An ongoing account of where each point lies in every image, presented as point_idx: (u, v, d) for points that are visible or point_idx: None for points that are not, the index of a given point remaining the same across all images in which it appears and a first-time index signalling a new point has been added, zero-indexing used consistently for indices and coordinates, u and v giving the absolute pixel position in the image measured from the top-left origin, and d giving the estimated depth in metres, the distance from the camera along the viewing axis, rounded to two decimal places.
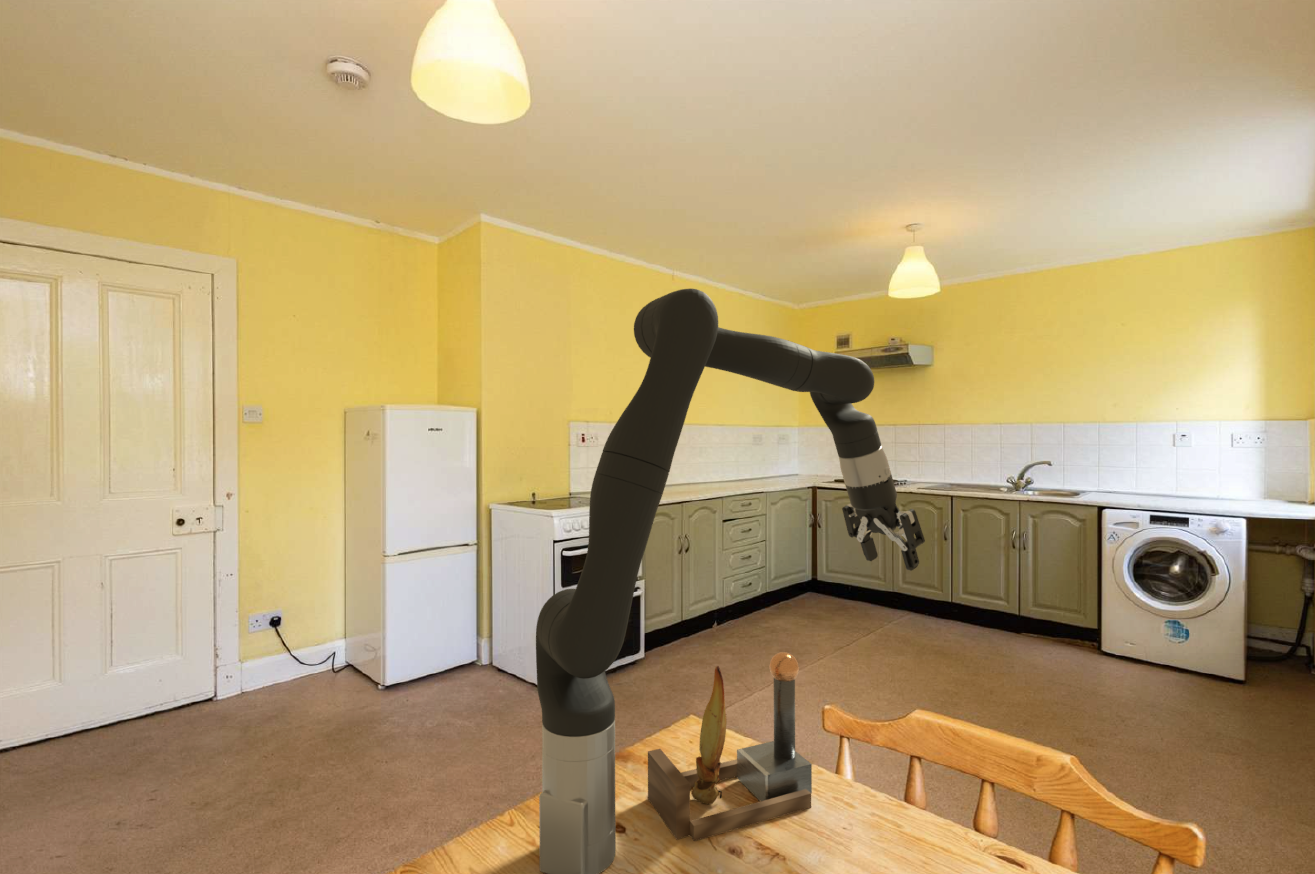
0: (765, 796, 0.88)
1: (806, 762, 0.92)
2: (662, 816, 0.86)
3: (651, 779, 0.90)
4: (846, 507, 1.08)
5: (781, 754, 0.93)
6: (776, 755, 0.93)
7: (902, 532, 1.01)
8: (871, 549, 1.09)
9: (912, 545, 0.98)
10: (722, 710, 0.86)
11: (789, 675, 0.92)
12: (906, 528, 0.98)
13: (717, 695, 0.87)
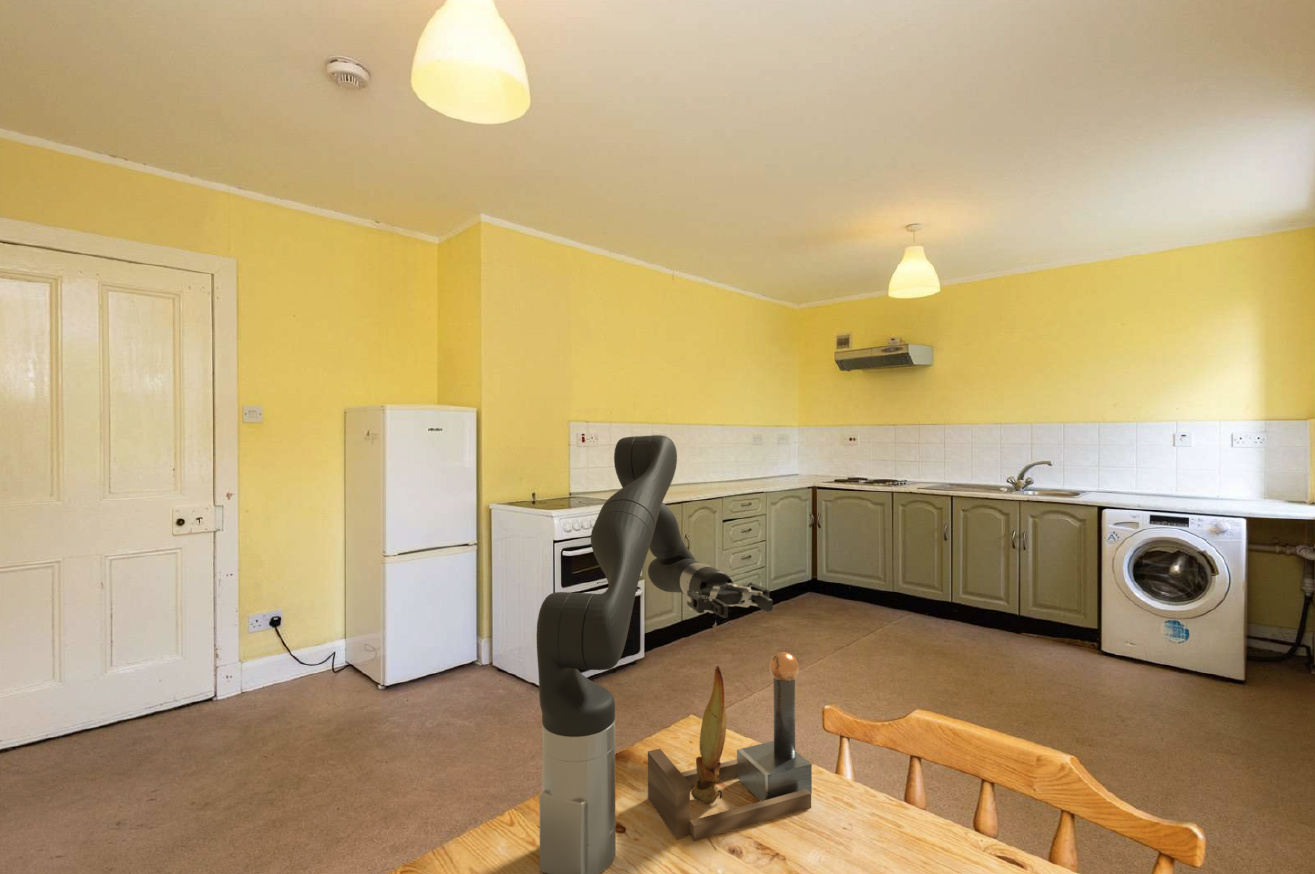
0: (765, 796, 0.88)
1: (806, 762, 0.92)
2: (662, 816, 0.86)
3: (651, 779, 0.90)
4: None
5: (781, 754, 0.93)
6: (776, 755, 0.93)
7: None
8: None
9: None
10: (722, 710, 0.86)
11: (789, 675, 0.92)
12: (756, 586, 1.14)
13: (717, 695, 0.87)
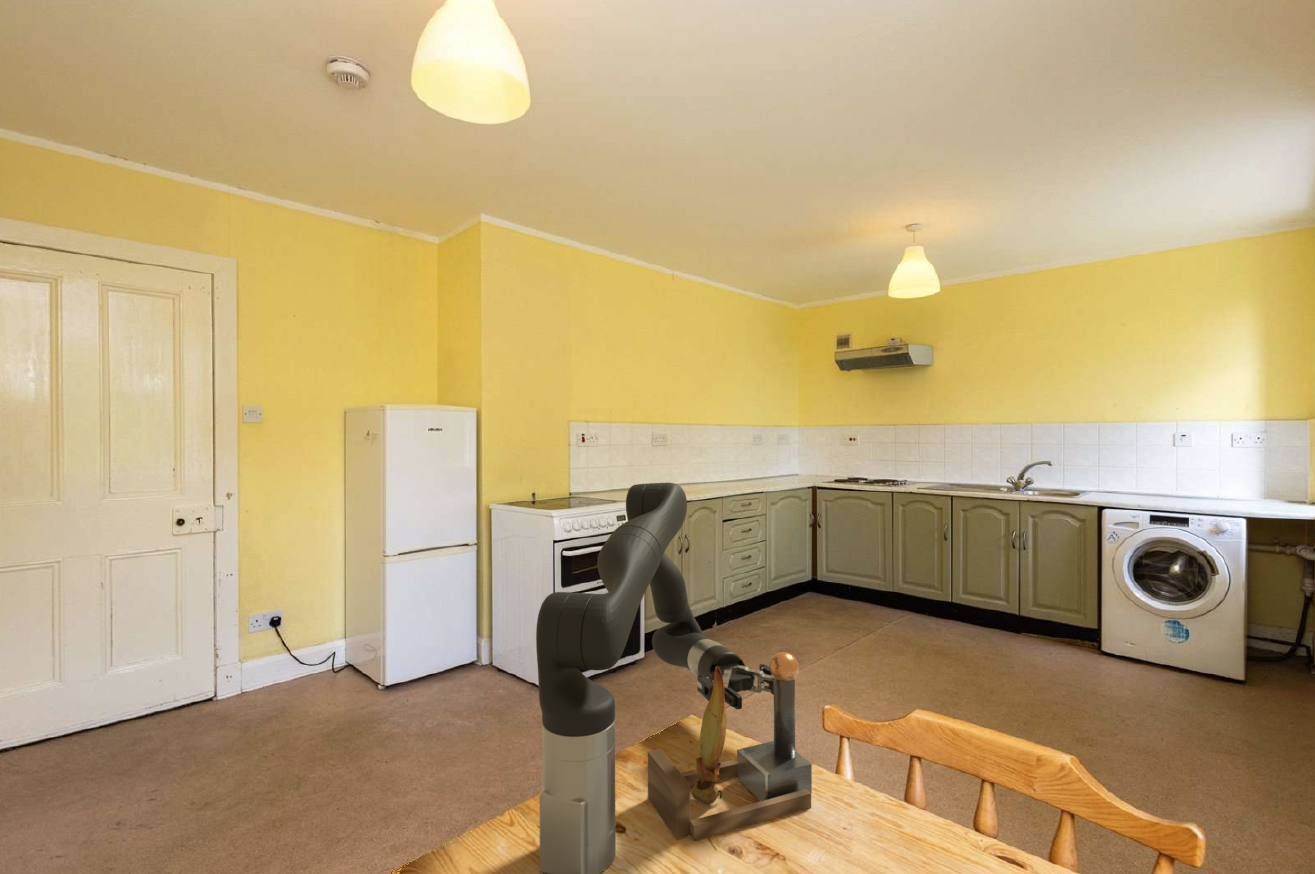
0: (765, 796, 0.88)
1: (806, 762, 0.92)
2: (662, 816, 0.86)
3: (651, 779, 0.90)
4: None
5: (781, 754, 0.93)
6: (776, 755, 0.93)
7: None
8: None
9: None
10: (722, 710, 0.86)
11: (789, 675, 0.92)
12: (769, 668, 1.10)
13: (717, 695, 0.87)
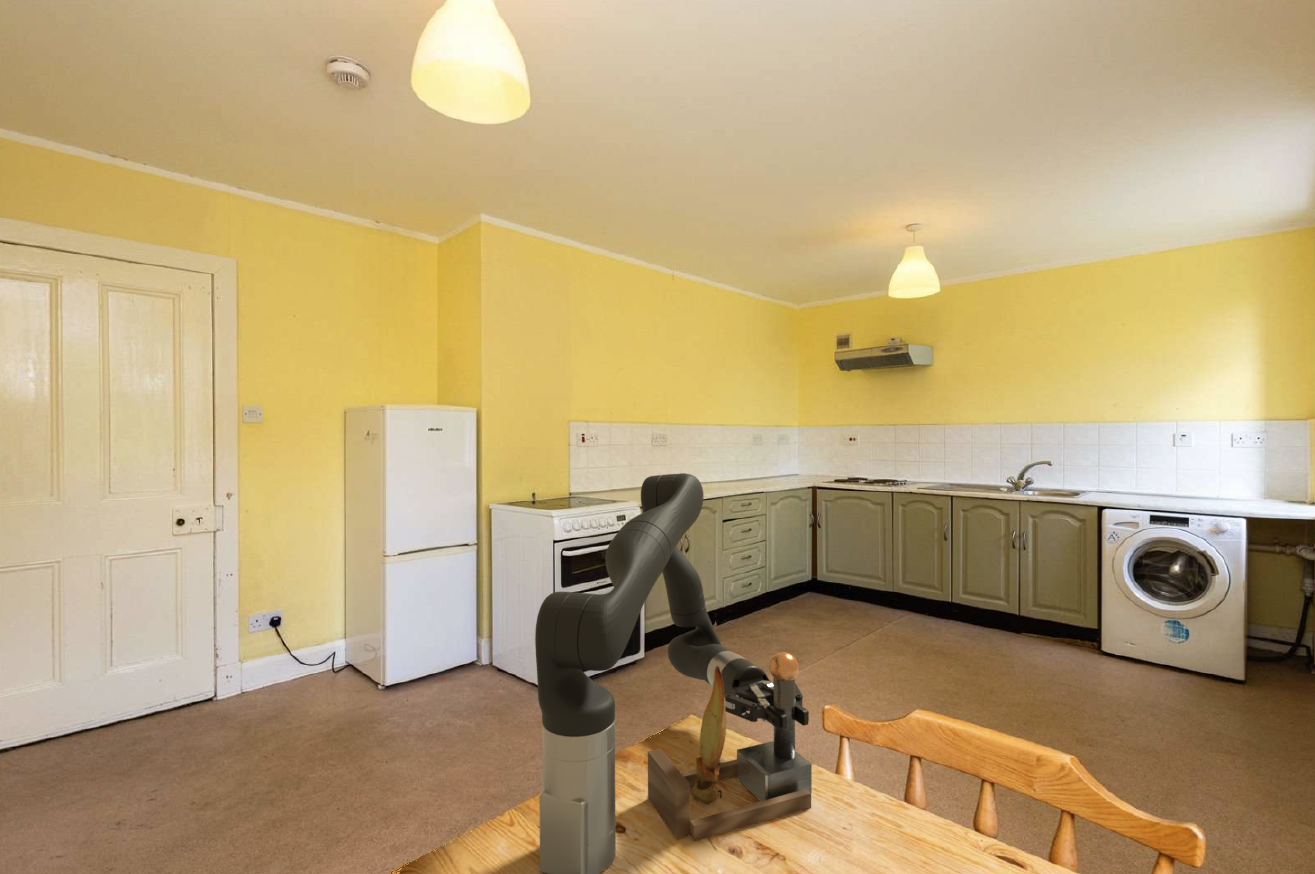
0: (765, 796, 0.88)
1: (806, 762, 0.92)
2: (662, 816, 0.86)
3: (651, 779, 0.90)
4: (727, 695, 0.99)
5: (781, 754, 0.93)
6: (776, 755, 0.93)
7: None
8: None
9: (799, 694, 0.98)
10: (722, 710, 0.86)
11: (789, 675, 0.92)
12: (795, 687, 1.01)
13: (717, 696, 0.87)
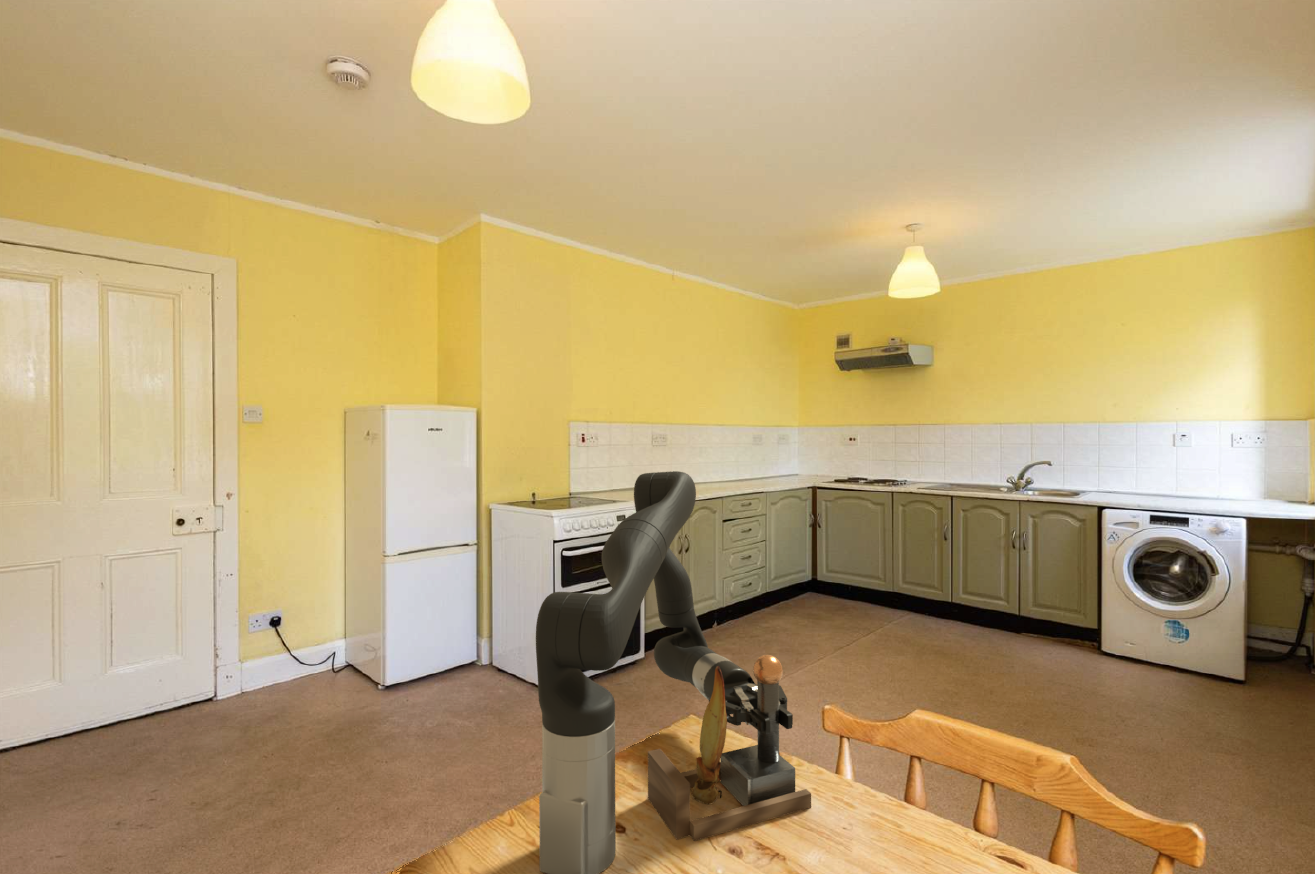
0: (748, 801, 0.87)
1: (790, 766, 0.91)
2: (662, 816, 0.86)
3: (651, 779, 0.90)
4: None
5: (765, 758, 0.92)
6: (760, 759, 0.92)
7: None
8: None
9: (784, 697, 0.97)
10: (722, 710, 0.86)
11: (772, 678, 0.91)
12: (780, 690, 1.00)
13: (717, 696, 0.87)
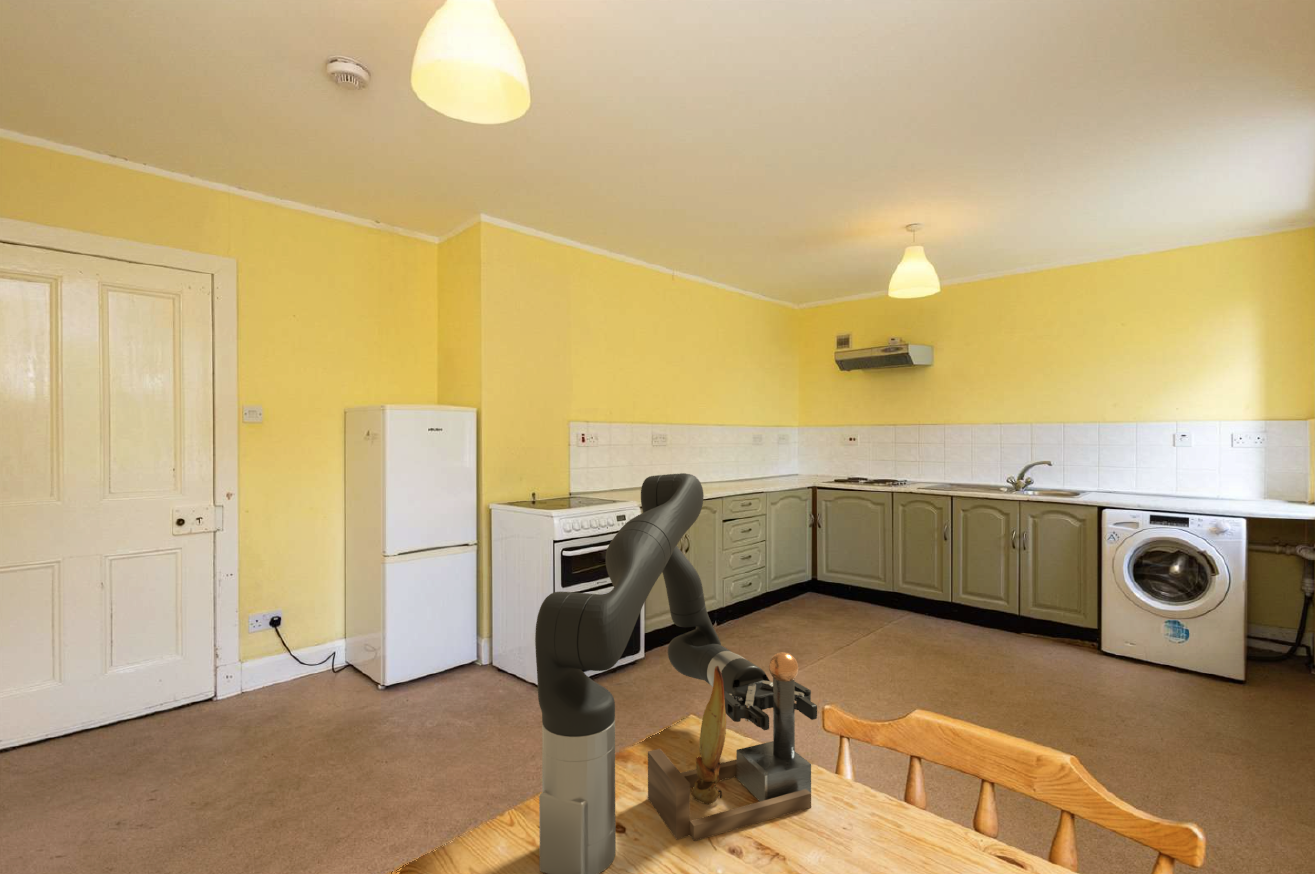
0: (764, 796, 0.88)
1: (806, 762, 0.92)
2: (662, 816, 0.86)
3: (651, 779, 0.90)
4: None
5: (780, 754, 0.93)
6: (775, 755, 0.93)
7: None
8: None
9: (807, 689, 1.00)
10: (722, 710, 0.86)
11: (788, 675, 0.92)
12: (795, 683, 1.03)
13: (717, 695, 0.87)
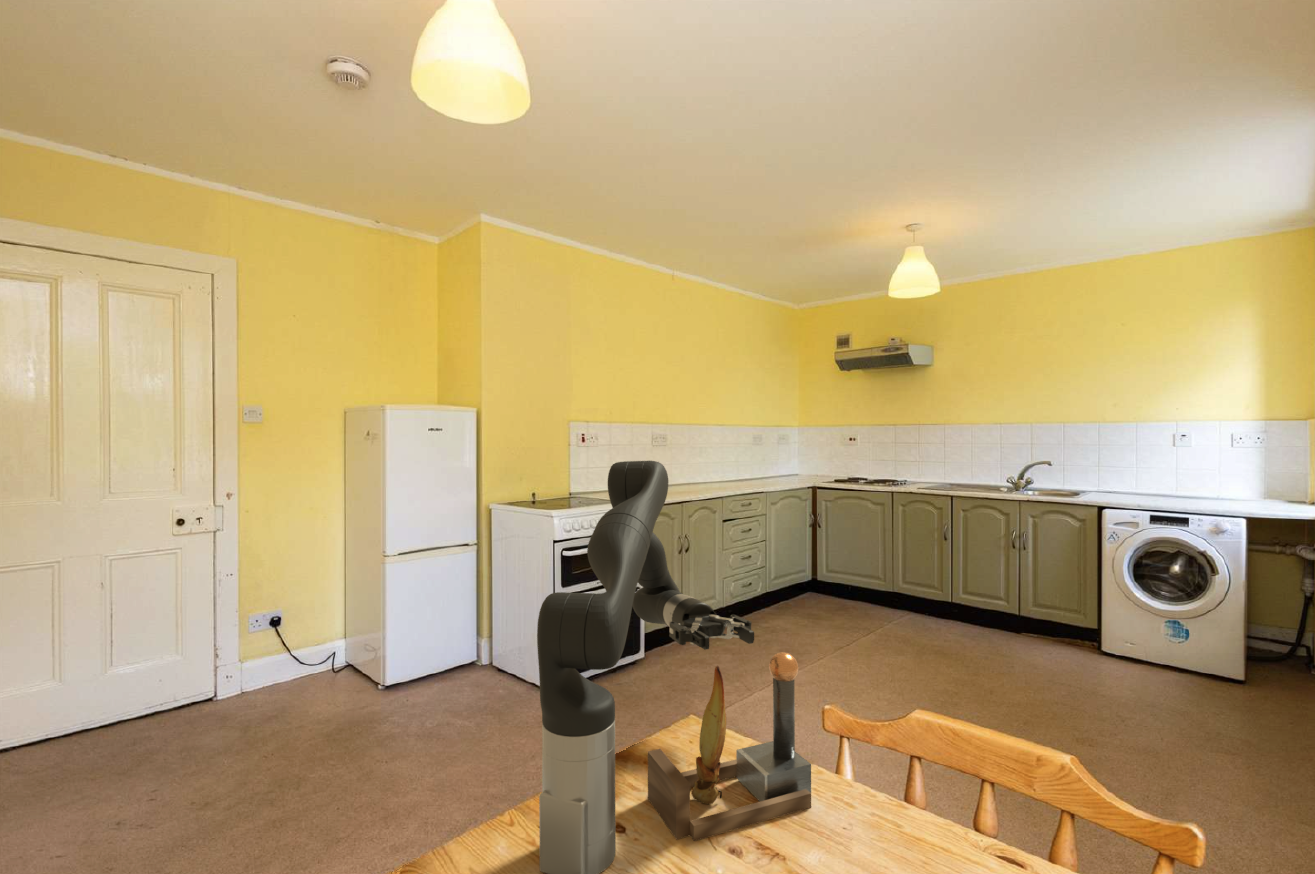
0: (764, 796, 0.88)
1: (806, 762, 0.92)
2: (662, 816, 0.86)
3: (651, 779, 0.90)
4: None
5: (780, 754, 0.93)
6: (775, 755, 0.93)
7: None
8: None
9: (748, 621, 1.12)
10: (722, 710, 0.86)
11: (788, 675, 0.92)
12: (739, 617, 1.14)
13: (717, 695, 0.87)
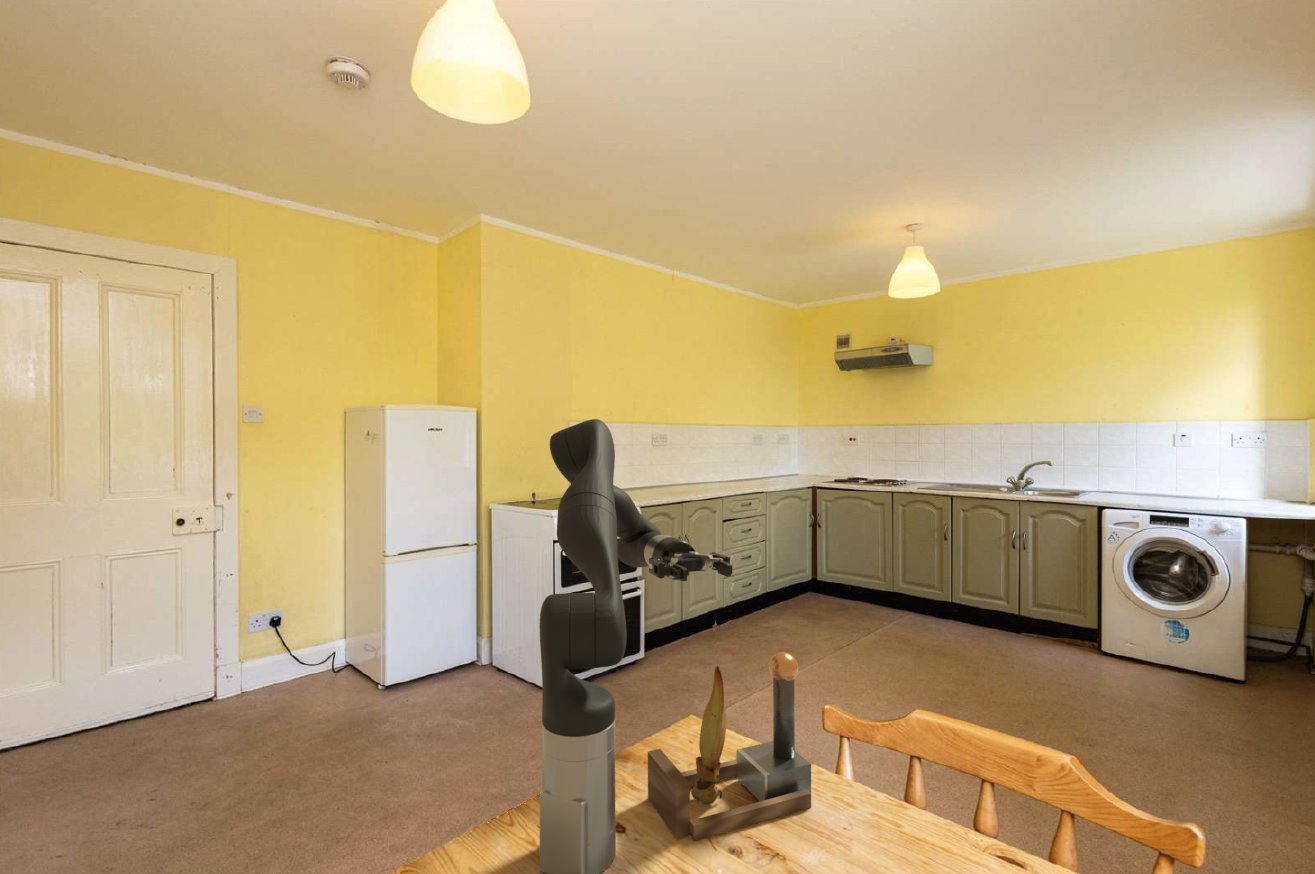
0: (764, 796, 0.88)
1: (806, 762, 0.92)
2: (662, 816, 0.86)
3: (651, 779, 0.90)
4: None
5: (780, 754, 0.93)
6: (775, 755, 0.93)
7: None
8: None
9: (727, 557, 1.13)
10: (722, 710, 0.86)
11: (788, 675, 0.92)
12: (718, 554, 1.15)
13: (717, 695, 0.87)
